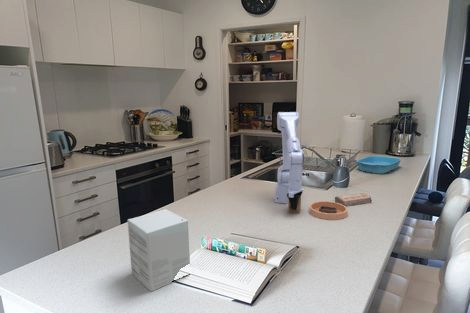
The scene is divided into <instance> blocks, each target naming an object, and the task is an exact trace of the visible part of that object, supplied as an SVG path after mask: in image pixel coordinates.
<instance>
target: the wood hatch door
mask: <svg viewBox="0 0 470 313" xmlns="http://www.w3.org/2000/svg"><path fill="white" fill-rule="evenodd" d="M301 208H302V196H301V197H299V199H298V203H297V208H296V210H293V209H291V206H290V201H289V202H288V213H295V214H300V213H301V211H302V209H301Z"/></svg>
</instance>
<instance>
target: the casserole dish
mask: <svg viewBox="0 0 470 313" xmlns="http://www.w3.org/2000/svg"><path fill="white" fill-rule="evenodd" d="M401 160H402V159H401V158H399V157H396V156H395V157H394V156H389V155H368V156H365V157H362V158H359V159H356V164H357V168H358V169H359V170H360V171H361V172H365V171H366V173H371V172H372V173H371V174H377V175H378V174H380V175H382V174H387V173H389V172H391V170H392V171H393V170H395V169H397V168H398V167H399V165H400V163H401Z"/></svg>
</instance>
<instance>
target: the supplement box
mask: <svg viewBox="0 0 470 313" xmlns="http://www.w3.org/2000/svg"><path fill="white" fill-rule="evenodd" d="M127 231H128V244H129V246H128V247H129V255H130V268H131V269H130V270H131V274H132V275H133V276H134V277H135V278H136V279H137V281H139V282H140V283H141V284H143V286H144V287H145V288H147V289H148V291H149V292H154V291H156V290H158V289H160V288H163V287H164V286H167V285H169V284H172V283H173V282H172V281H173V280H174V278H175V276H176V275H177V273H178V272H179V270H180V269H181V268H183V267H185V266H186V265H188V264H190V265H191V256H190V255H191V254H190V242H189V241H190V238H189V234H190V233H189V220H188V219H186V218H184V217H182V216H181V215H179V214H177V213H175V212H172V211H170V210H168V209H167V208H165V209H161V210H158V211H154V212H150V213H148V214H144V215H140V216H136V217H133V218H128V219H127ZM171 282H172V283H171Z"/></svg>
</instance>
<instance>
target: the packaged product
mask: <svg viewBox="0 0 470 313" xmlns="http://www.w3.org/2000/svg"><path fill="white" fill-rule="evenodd" d="M372 201H373V200H372V197H371V196H370V194H367V193H364V192H363V193H362V192H360V193H352V194H351V193H350V194H344V195H343V194H342V195H337V196H335V197H334V200H330V202H336V203H340V204H342V205H344V206H346V207H351V206H352V207H353V206H359V205H366V204H374V203H373V202H372Z"/></svg>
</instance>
